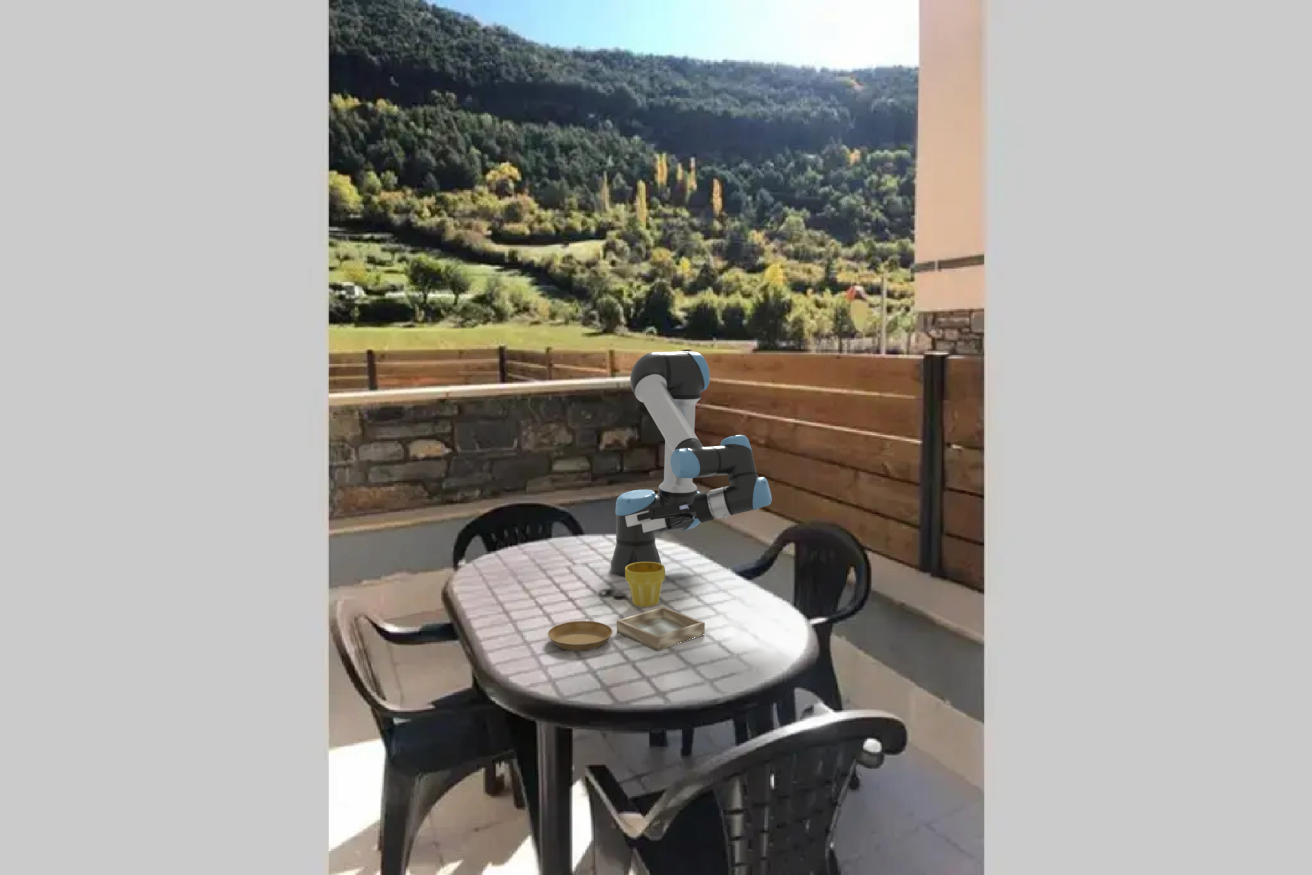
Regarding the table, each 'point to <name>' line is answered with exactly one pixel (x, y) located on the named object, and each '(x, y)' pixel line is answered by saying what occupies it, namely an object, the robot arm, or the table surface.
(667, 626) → the tray
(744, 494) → the robot arm
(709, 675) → the table surface
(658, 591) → the plant pot
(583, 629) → the plant saucer
